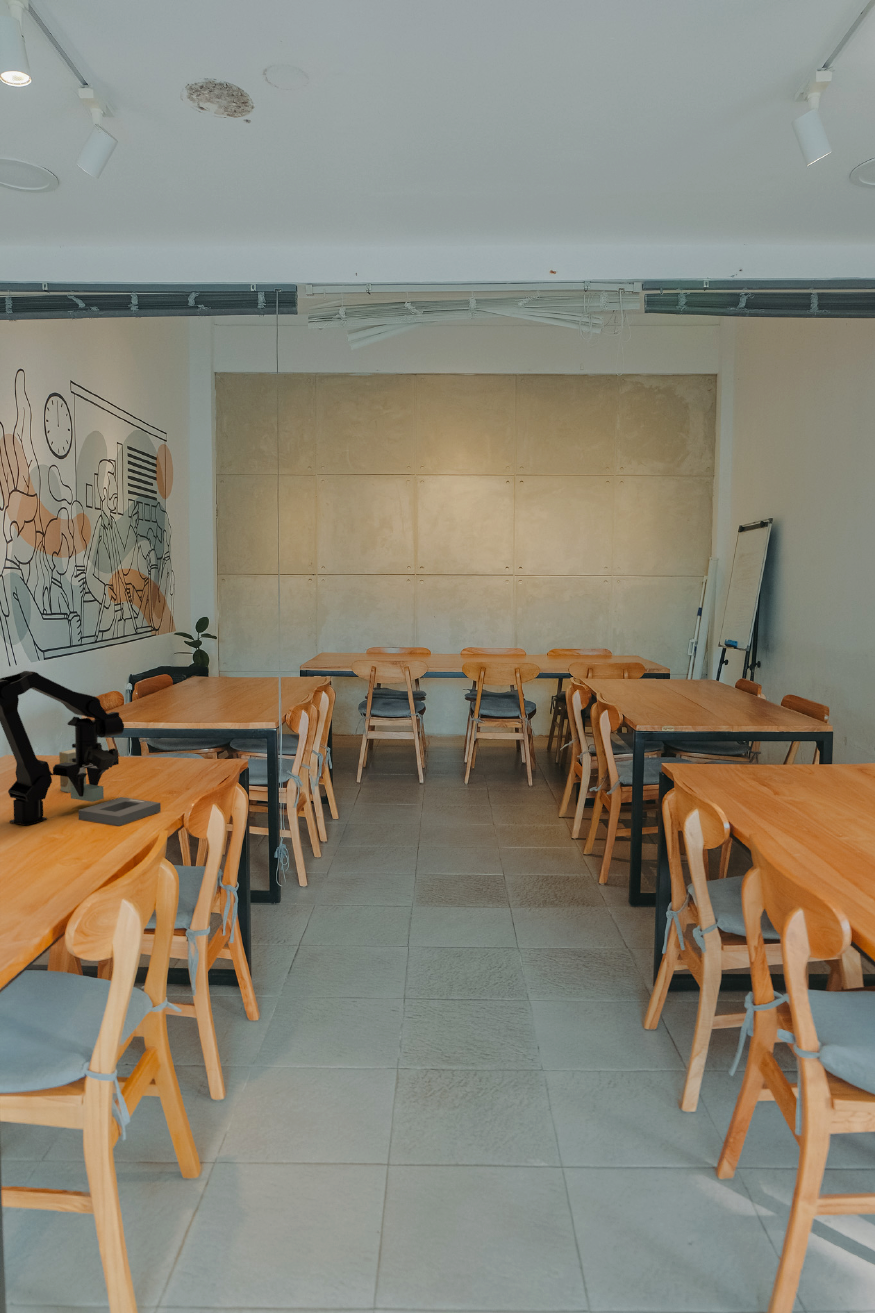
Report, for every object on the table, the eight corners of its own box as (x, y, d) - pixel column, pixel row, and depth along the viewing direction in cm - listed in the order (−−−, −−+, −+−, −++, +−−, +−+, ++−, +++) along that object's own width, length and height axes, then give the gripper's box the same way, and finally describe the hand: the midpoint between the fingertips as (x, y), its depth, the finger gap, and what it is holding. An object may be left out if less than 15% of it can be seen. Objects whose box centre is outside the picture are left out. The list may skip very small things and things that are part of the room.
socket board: (119, 826, 211) (119, 816, 211) (78, 819, 216) (78, 809, 216) (160, 811, 225) (160, 802, 225) (121, 805, 231) (121, 796, 230)
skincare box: (78, 787, 251) (77, 748, 250) (87, 789, 249) (86, 749, 248) (59, 791, 246) (58, 751, 245) (68, 793, 243) (67, 753, 242)
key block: (92, 801, 224) (92, 789, 224) (70, 798, 227) (70, 786, 227) (103, 798, 228) (103, 786, 228) (82, 795, 231) (81, 783, 231)
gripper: (82, 748, 215) (82, 806, 216) (133, 737, 232) (133, 790, 233) (50, 744, 219) (51, 801, 220) (103, 733, 236) (104, 786, 238)
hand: (87, 794), depth 228 cm, fingers closed on key block, 4 cm apart
